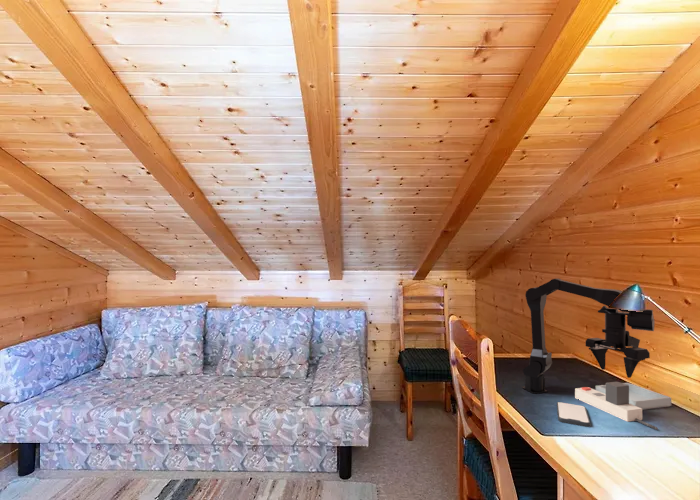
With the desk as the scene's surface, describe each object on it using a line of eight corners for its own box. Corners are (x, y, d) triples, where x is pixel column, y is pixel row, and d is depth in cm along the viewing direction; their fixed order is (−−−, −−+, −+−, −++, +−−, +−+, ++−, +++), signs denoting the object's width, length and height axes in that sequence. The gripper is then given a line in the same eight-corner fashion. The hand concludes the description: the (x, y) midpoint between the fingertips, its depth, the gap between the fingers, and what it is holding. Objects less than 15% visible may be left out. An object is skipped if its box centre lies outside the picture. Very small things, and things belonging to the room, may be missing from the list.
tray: (636, 410, 127) (636, 401, 127) (595, 393, 142) (595, 385, 142) (671, 406, 130) (671, 397, 130) (628, 390, 145) (628, 382, 146)
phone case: (556, 405, 132) (557, 422, 117) (556, 401, 132) (557, 417, 117) (585, 410, 128) (591, 429, 113) (585, 406, 128) (591, 423, 113)
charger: (628, 409, 123) (628, 385, 123) (616, 410, 122) (616, 386, 122) (617, 404, 127) (617, 381, 127) (605, 406, 126) (605, 382, 126)
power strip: (665, 429, 113) (665, 415, 113) (649, 431, 111) (649, 417, 111) (588, 396, 139) (588, 385, 139) (575, 398, 137) (575, 386, 137)
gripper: (662, 331, 120) (662, 380, 120) (608, 321, 138) (608, 364, 138) (635, 332, 117) (636, 383, 117) (584, 322, 135) (584, 366, 135)
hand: (615, 373), depth 127 cm, fingers open, 9 cm apart
